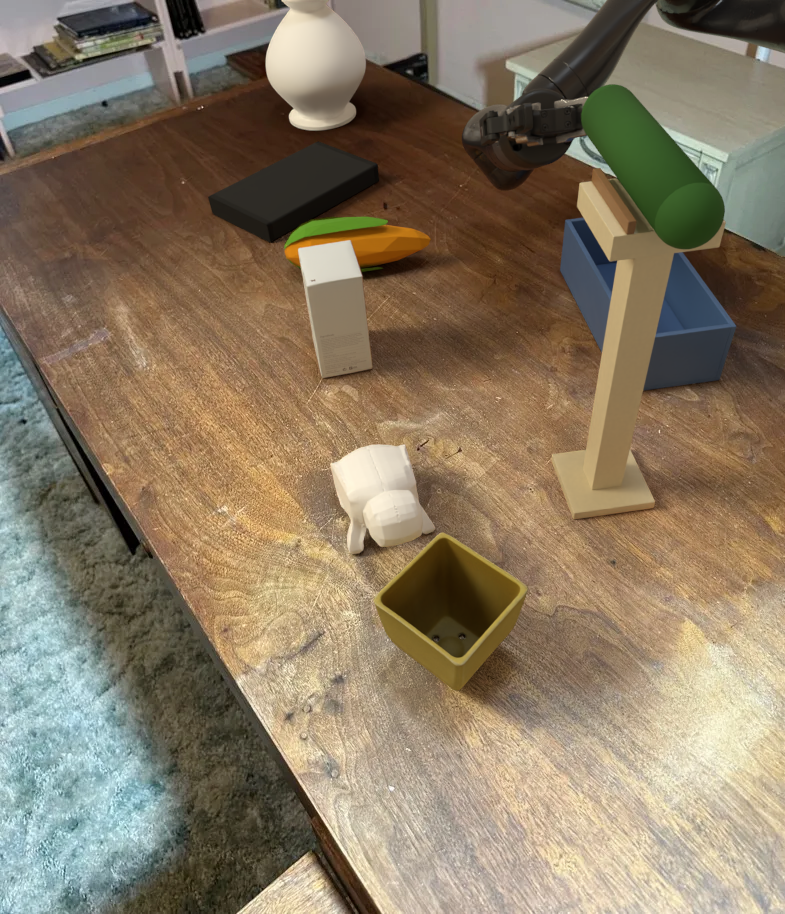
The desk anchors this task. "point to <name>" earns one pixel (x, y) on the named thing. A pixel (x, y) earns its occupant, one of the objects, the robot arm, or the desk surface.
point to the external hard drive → (293, 190)
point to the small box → (336, 307)
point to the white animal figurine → (380, 496)
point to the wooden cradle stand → (619, 353)
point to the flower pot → (450, 609)
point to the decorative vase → (315, 65)
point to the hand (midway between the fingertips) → (575, 109)
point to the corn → (358, 239)
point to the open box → (681, 319)
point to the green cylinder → (653, 168)
